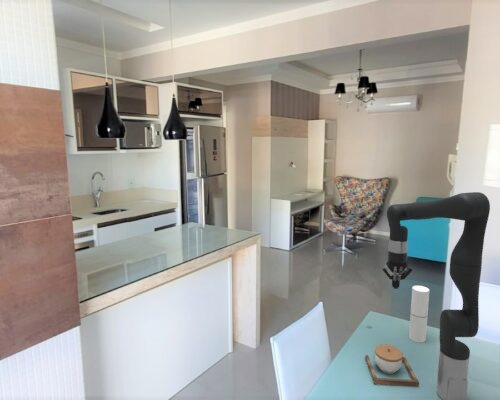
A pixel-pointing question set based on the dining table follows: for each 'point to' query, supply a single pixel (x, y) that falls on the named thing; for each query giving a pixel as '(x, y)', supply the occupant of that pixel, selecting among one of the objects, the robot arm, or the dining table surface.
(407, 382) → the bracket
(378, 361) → the lidded jar
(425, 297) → the cylindrical container
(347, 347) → the dining table surface
